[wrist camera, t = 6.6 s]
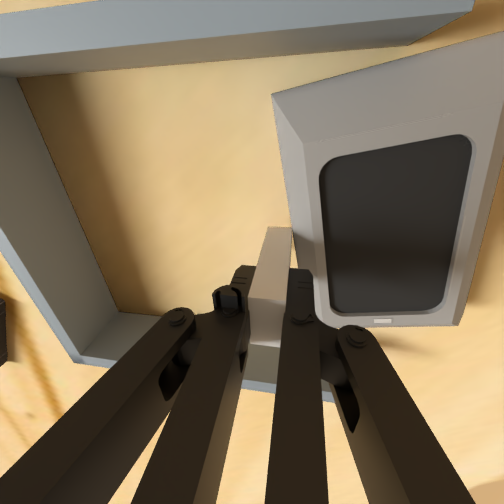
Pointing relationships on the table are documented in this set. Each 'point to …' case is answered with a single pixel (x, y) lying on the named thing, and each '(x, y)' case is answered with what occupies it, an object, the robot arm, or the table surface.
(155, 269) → the table surface
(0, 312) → the disk drive
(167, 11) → the open u-shaped frame
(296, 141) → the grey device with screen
